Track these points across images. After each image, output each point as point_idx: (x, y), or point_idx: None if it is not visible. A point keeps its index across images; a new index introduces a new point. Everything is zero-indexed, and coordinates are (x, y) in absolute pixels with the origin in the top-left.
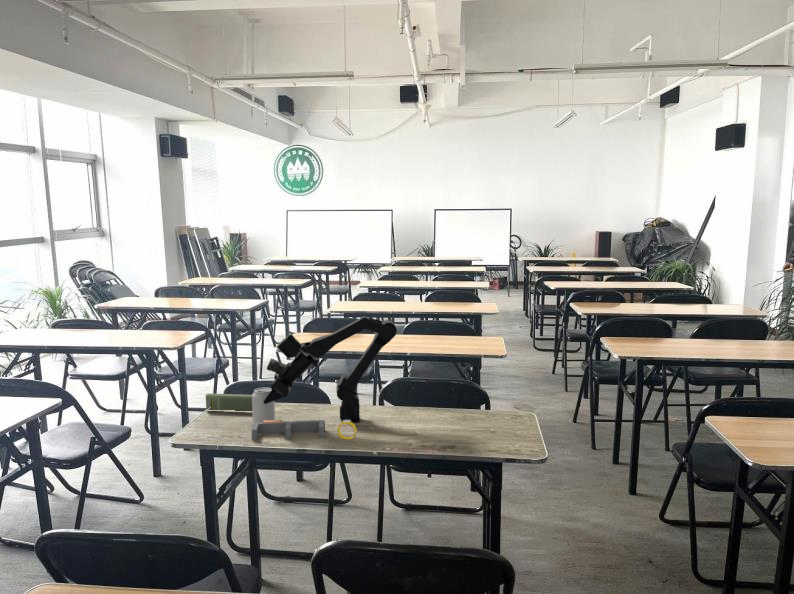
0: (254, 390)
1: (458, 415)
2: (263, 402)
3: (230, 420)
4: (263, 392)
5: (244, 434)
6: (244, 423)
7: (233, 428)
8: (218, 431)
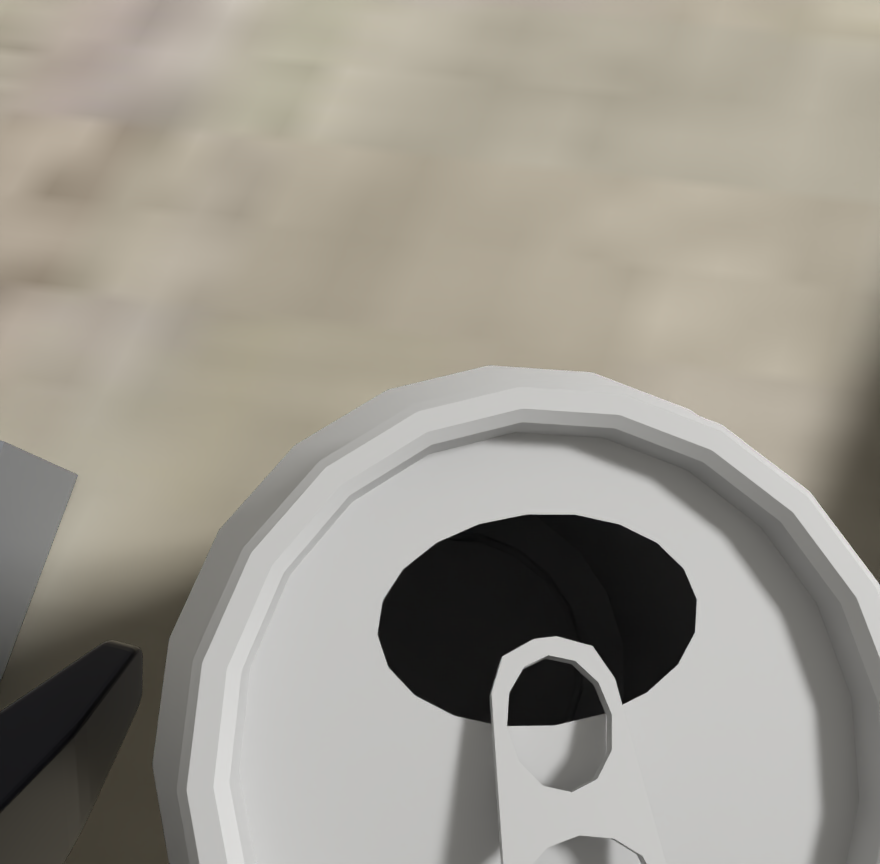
0: (580, 400)
1: None
2: (112, 647)
3: (714, 254)
4: (192, 700)
5: (77, 343)
6: None
7: (376, 250)
8: (332, 87)
